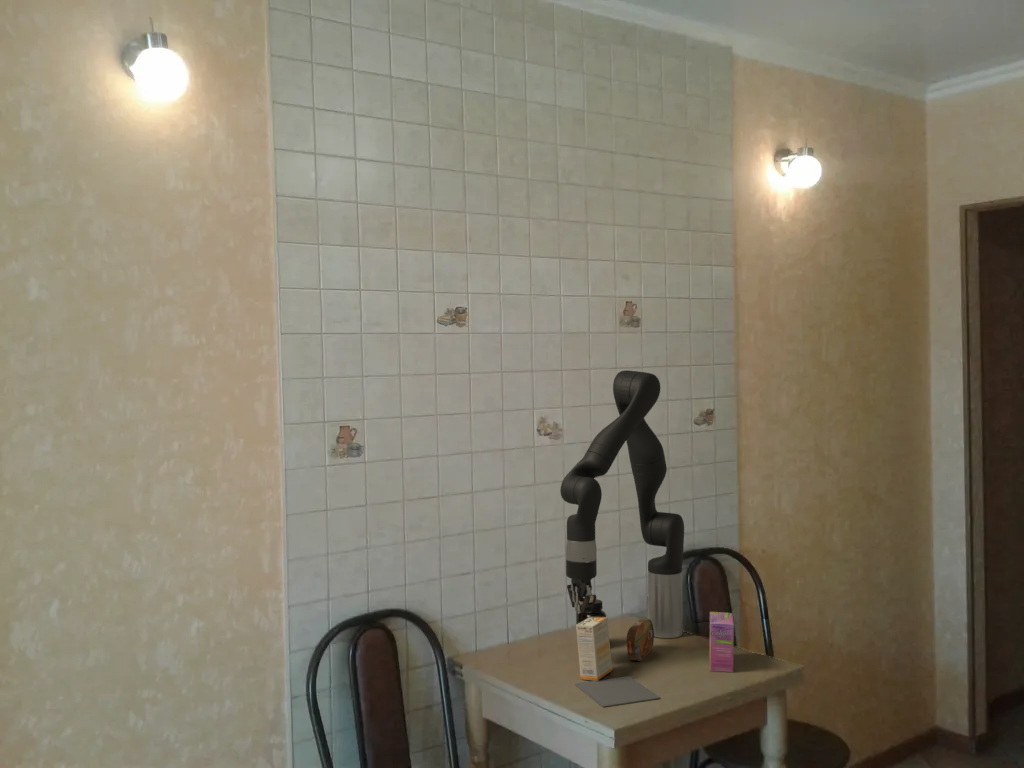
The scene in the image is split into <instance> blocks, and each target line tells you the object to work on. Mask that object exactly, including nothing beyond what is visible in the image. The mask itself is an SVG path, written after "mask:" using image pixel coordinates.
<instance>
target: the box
mask: <svg viewBox="0 0 1024 768" xmlns="http://www.w3.org/2000/svg"><path fill="white" fill-rule="evenodd" d="M734 639H735V623H734V615H733V612H725V611H724V612H723V611H722V612H721V611H709V671H710V672H714V673H715V672H716V673H729V674H730V673H733V674H734V654H735V653H734V652H735V651H734V645H735V644H734V643H735V642H734V641H735V640H734Z"/></svg>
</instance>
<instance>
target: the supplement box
mask: <svg viewBox="0 0 1024 768" xmlns="http://www.w3.org/2000/svg"><path fill="white" fill-rule="evenodd" d="M608 619H609V618H608V617H607V616H606V617H594V616H591V617H589V618H587V619H586V620H584V621H582V622H580V623H579V624H577V625H576V624H575V628H576V638H577V640H576V641H577V651H578V653H577V654H578V663H579V675H580V680H582V681H583V680H584V681H598V680H602V678H603V677H605V676H606V675H608V674H609V673H611V672H612V671H613V670H612V656H611V646H610V643H611V642H610V631H609V622H608Z"/></svg>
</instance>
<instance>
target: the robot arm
mask: <svg viewBox="0 0 1024 768" xmlns="http://www.w3.org/2000/svg"><path fill="white" fill-rule="evenodd" d="M612 393H613V399H614V401H615V405H616V409H617V411H618V414H619V416H618V417H617V418H616V419H614V420H613V421H612V422H611V423H608V425H607V426H605V427H603V428H602V429H601V430H600V431H599V432H598V434H596V435H595V437H594V438H593V440H592V442H591V443H590V445H589V446H588V448H587V450H586V452H585V453H584V456H583V457H582V458H581V459H580V460H579V461H578V462H577V463H576V464H575V466H573V467H572V468H571V469H570V471H568V473H567V474H566V475H565V476H564V478H563V479H562V482H561V485H560V488H559V489H560V491H559V492H560V496H561V498H562V500H563V501H565V502H566V503H568V504H571V505H577V507H578V508H577V511H576V513H575V514H571V515H569V516H568V517H567V519H566V546H565V575H566V577H568V579H571V580H570V581H571V582H570V583H571V584H567V585H566V589H567V593H568V595H569V596H568V597H569V600H570V603H571V607H572V608H574V612H575V618H576V619H575V620H576V621H575V623H576V624H575V626H576V625H577V624H579V623H580V622H582V621H584V620H586V619H587V613H588V612H591V611H592V608H593V606H594V603H595V601H596V599H597V595H596V594H593V592H592V591H593V590H592V589H593V586H592V579H595V578H596V577H597V571H598V570H597V567H598V565H597V564H598V563H597V541H596V520H597V518H598V514H599V510H600V506H601V502H602V496H603V495H602V494H603V493H602V487H601V484H600V483H599V481H598V480H596V479H595V478H599V477H603V476H605V475H606V474H607V473H608V472H609V471H610V469H611V467H612V465H613V463H614V461H615V459H616V457H617V455H618V454H619V452H620V451H621V449H622V448H623V446H624V445H625V443H626V445H627V451H628V456H629V462H630V467H631V471H632V472H631V473H632V476H633V481H634V485H635V492H636V497H637V502H638V505H637V506H638V512H639V513H638V514H639V522H640V524H639V525H640V532H641V536H642V539H643V541H644V542H645V543H646V544H647V545H650V546H655V547H665V554H663V555H661V556H657V557H653V558H650V559H649V560H648V561H647V598H646V599H647V601H646V603H647V605H646V607H647V609H646V610H647V614H646V615H647V619H646V620H648V619H649V620H651V622H652V624H653V630H654V638H660V639H674V638H679V637H681V636H682V635H683V562H684V545H685V544H684V543H685V523H684V522H685V521H684V519H683V517H682V516H681V515H680V514H678V513H672V512H663V511H658V510H657V508H656V497H657V493H658V491H659V489H660V488H661V486H662V484H663V482H664V479H665V477H666V474H667V472H668V471H667V470H668V469H667V462H666V456H665V451H664V446H663V445H662V443H661V441H660V440H659V438H658V436H657V435H656V434H655V432H654V431H653V429H652V428H651V427H650V425H649V424H648V423H647V421H646V419H645V417H646V416H647V415H648V414H649V412H650V411H651V410H652V409H653V407H654V406H655V404H657V402H658V399H659V397H660V393H661V382H660V380H659V378H658V376H657V375H656V374H654V373H649V372H646V371H637V370H626V369H625V370H621V371H619V372H618V373H617V374H616V375H615V377H614V379H613V383H612Z"/></svg>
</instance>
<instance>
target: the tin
mask: <svg viewBox="0 0 1024 768" xmlns="http://www.w3.org/2000/svg"><path fill="white" fill-rule="evenodd" d="M654 640H655V636H654V630H653V624H652V622H651V620H649V619H648V620H647V619H639V620H638V621H636V622H635V623H634V624H632V626H630V627H629V629H628V630H627V634H626V640H625V641H626V649H627V650H626V651H627V657H628V658H629V660H630V661H639V662H642V661H643V660H644V659H645V658H646V657H648V655H649V654H650V653H651V652H652V650H653V647H654Z"/></svg>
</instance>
